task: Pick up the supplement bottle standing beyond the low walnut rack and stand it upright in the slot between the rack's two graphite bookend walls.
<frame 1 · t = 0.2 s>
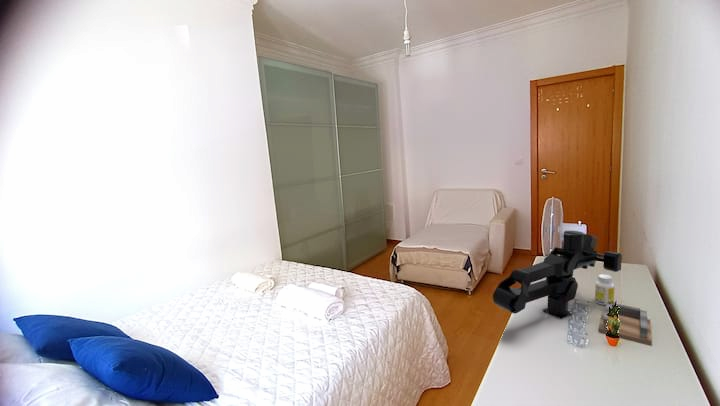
hand: (603, 252, 118), 17 cm above the table, tool horizontal, fingers open, 9 cm apart
supplement bottle: (603, 302, 115), on the table
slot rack: (624, 327, 99), on the table
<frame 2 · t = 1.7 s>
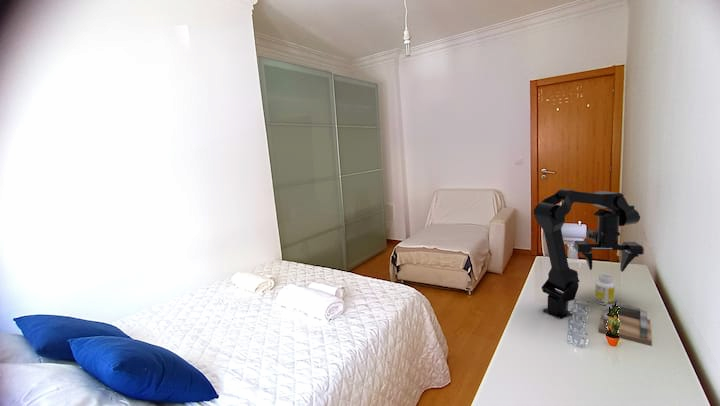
hand: (605, 270, 113), 12 cm above the table, tool pointing down, fingers open, 9 cm apart
nothing on the table moved.
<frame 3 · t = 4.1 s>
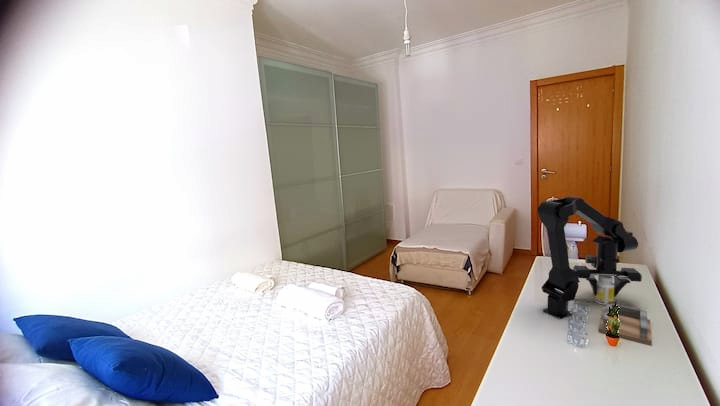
hand: (604, 295, 115), 3 cm above the table, tool pointing down, fingers closed on supplement bottle, 5 cm apart
supplement bottle: (603, 302, 115), on the table, touching gripper
when the fingers open (5 cm above the table, at t = 9.3 s): supplement bottle drops 2 cm, resting on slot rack.
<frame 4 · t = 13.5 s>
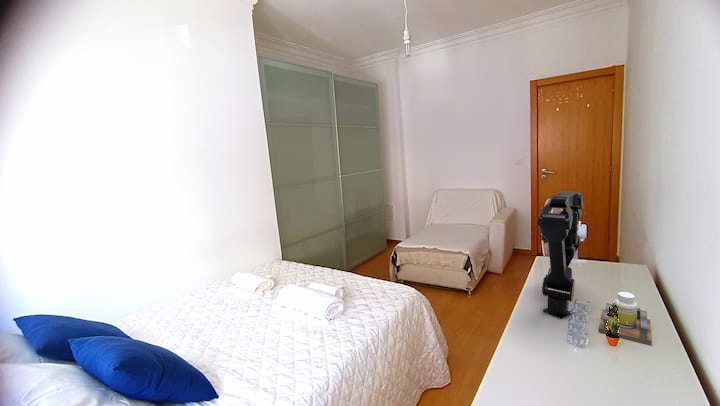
hand: (566, 265, 120), 12 cm above the table, tool pointing down, fingers open, 9 cm apart
supplement bottle: (624, 324, 99), point 1 cm above the table, touching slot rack
at the end: supplement bottle 0.1 cm off-centre on the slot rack, point 1.0 cm above the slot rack's base; supplement bottle tilted 0°; the gripper is holding nothing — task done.
